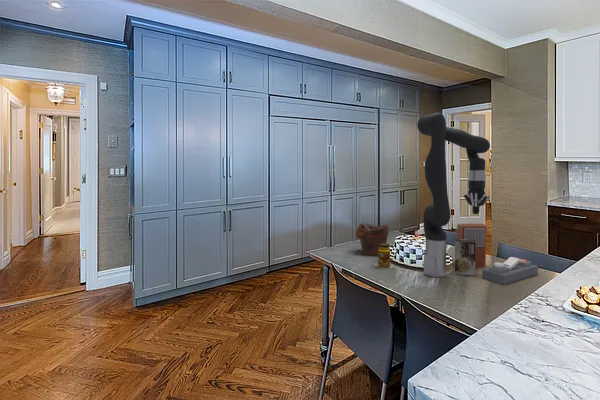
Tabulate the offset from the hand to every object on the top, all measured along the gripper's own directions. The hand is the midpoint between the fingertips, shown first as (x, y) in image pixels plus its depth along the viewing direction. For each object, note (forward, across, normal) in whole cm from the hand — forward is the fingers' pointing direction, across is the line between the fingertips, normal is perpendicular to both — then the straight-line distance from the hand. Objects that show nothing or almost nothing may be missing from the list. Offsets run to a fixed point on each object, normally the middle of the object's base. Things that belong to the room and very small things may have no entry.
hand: (475, 213), depth 169 cm
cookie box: (+27, +5, -13) cm, 31 cm away
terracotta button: (+23, +18, +9) cm, 31 cm away
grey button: (+22, +18, -9) cm, 30 cm away
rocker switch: (+22, +18, 0) cm, 28 cm away
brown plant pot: (+27, -48, -26) cm, 61 cm away
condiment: (+27, -24, -39) cm, 53 cm away
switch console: (+27, +18, 0) cm, 33 cm away
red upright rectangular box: (+27, -2, 0) cm, 27 cm away
